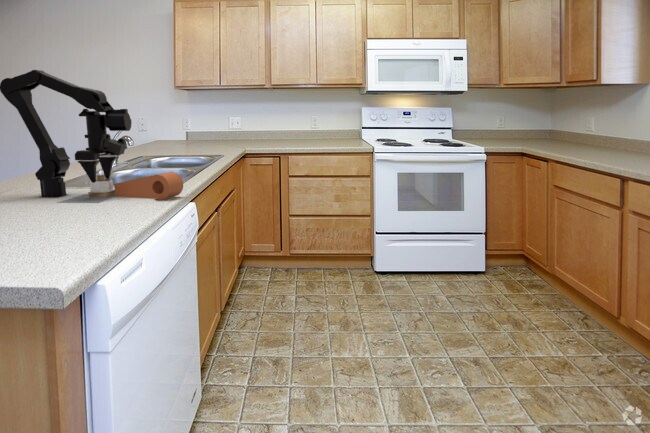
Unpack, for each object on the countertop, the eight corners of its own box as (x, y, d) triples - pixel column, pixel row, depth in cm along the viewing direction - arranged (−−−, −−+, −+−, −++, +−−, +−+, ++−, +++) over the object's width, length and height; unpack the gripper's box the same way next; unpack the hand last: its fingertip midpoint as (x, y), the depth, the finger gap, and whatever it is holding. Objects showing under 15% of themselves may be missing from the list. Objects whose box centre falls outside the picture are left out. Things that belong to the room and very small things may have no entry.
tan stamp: (88, 197, 181) (86, 176, 180) (97, 194, 187) (96, 174, 186) (106, 197, 181) (105, 176, 179) (115, 194, 186) (113, 174, 185)
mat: (56, 204, 172) (56, 202, 171) (85, 195, 188) (85, 193, 188) (98, 204, 170) (97, 202, 170) (123, 195, 187) (123, 194, 187)
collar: (87, 192, 181) (86, 181, 180) (97, 189, 187) (96, 178, 186) (106, 192, 180) (105, 181, 179) (116, 189, 186) (115, 178, 186)
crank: (183, 197, 184) (182, 172, 182) (169, 201, 176) (168, 175, 175) (130, 192, 190) (129, 168, 188) (114, 196, 182) (113, 171, 181)
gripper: (107, 132, 170) (111, 184, 173) (134, 129, 188) (137, 177, 191) (71, 132, 171) (76, 184, 174) (101, 129, 189) (105, 176, 192)
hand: (100, 180), depth 183 cm, fingers open, 9 cm apart
